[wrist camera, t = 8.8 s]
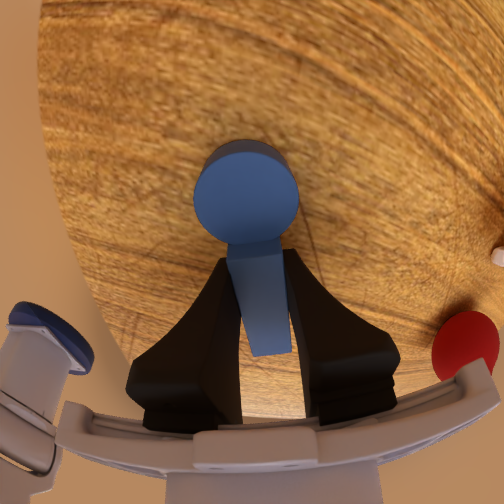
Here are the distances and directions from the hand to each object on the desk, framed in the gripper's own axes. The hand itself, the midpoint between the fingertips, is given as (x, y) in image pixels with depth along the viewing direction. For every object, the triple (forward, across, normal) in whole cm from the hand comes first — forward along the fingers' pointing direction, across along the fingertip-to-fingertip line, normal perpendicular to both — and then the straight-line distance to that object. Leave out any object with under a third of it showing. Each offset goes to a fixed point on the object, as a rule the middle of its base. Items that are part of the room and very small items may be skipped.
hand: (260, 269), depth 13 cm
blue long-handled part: (+1, 0, 0) cm, 1 cm away
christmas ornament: (+2, -17, +12) cm, 21 cm away
